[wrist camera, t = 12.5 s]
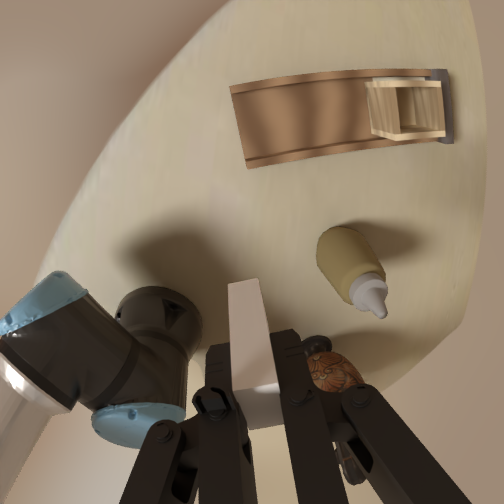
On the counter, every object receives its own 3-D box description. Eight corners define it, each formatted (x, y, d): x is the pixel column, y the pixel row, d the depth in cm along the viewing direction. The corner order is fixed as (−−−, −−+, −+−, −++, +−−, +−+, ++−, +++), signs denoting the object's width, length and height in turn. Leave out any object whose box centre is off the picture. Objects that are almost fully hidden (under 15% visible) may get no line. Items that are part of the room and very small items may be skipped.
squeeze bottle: (337, 208, 46) (393, 269, 30) (368, 241, 49) (424, 307, 33) (299, 246, 48) (334, 321, 32) (332, 275, 51) (373, 351, 35)
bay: (246, 165, 42) (249, 173, 37) (229, 86, 37) (230, 84, 32) (434, 137, 41) (453, 143, 37) (427, 69, 36) (447, 69, 32)
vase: (296, 375, 61) (328, 509, 35) (275, 337, 56) (308, 493, 29) (349, 354, 60) (401, 483, 34) (336, 312, 55) (401, 460, 28)
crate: (371, 133, 40) (395, 141, 33) (364, 81, 36) (388, 80, 30) (417, 129, 40) (445, 136, 33) (412, 80, 36) (440, 80, 30)
